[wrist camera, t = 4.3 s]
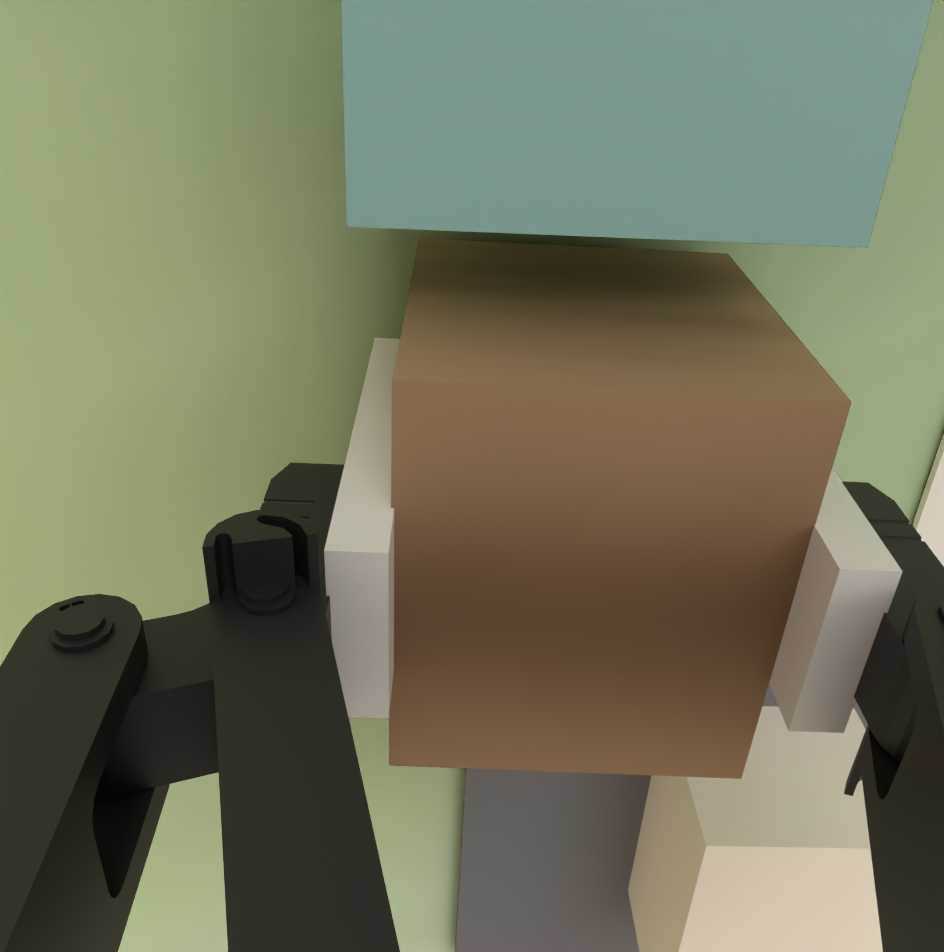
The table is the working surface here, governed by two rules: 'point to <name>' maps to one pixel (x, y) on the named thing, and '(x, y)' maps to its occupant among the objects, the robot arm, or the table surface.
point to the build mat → (548, 860)
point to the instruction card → (933, 508)
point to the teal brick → (626, 116)
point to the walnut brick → (596, 507)
